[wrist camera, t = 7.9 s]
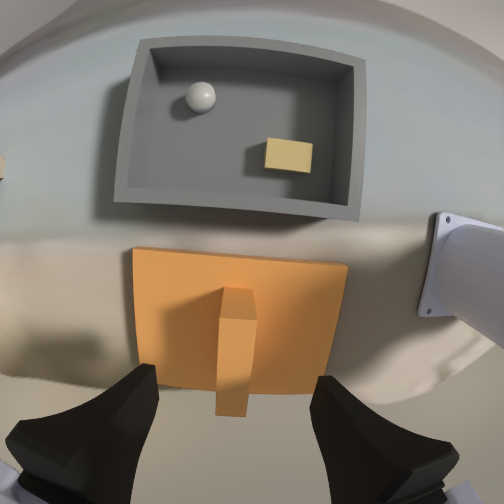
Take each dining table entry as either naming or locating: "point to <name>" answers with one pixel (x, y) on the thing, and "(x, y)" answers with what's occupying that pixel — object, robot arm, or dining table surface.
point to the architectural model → (2, 166)
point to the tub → (244, 127)
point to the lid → (235, 322)
